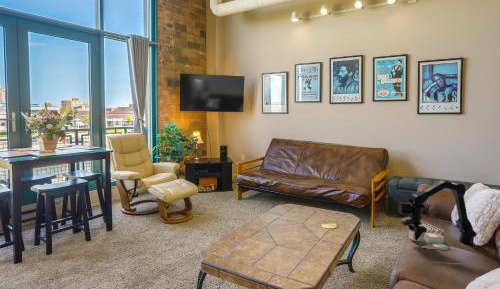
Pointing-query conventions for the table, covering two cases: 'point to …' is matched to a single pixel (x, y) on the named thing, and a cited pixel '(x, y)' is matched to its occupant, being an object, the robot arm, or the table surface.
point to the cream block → (412, 235)
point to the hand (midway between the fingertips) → (413, 237)
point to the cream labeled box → (433, 238)
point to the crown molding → (430, 228)
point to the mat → (425, 242)
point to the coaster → (440, 246)
